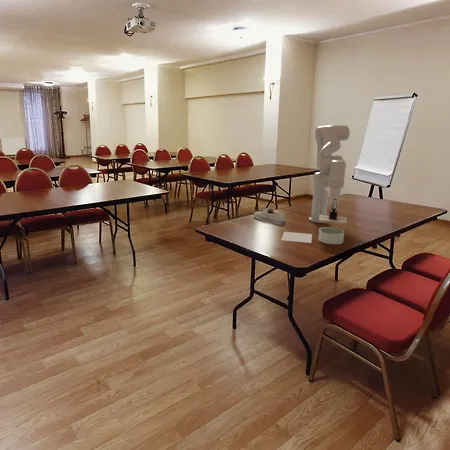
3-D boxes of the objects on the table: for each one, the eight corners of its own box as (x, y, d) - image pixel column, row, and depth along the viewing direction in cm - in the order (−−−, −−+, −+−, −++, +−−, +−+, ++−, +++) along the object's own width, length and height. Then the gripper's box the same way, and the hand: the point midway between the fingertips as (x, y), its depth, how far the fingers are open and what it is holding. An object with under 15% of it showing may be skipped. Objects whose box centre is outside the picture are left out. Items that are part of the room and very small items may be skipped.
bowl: (318, 236, 208) (319, 226, 207) (342, 238, 205) (343, 228, 204) (318, 243, 196) (318, 232, 195) (343, 246, 193) (344, 235, 192)
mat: (283, 232, 215) (284, 231, 214) (312, 235, 211) (312, 234, 211) (280, 241, 200) (281, 240, 199) (311, 243, 196) (311, 242, 196)
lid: (319, 216, 206) (320, 206, 204) (345, 218, 202) (346, 208, 201) (319, 222, 193) (319, 212, 191) (347, 224, 189) (348, 214, 188)
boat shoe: (250, 217, 247) (251, 205, 245) (260, 215, 252) (261, 203, 250) (278, 226, 228) (279, 212, 226) (287, 223, 234) (288, 210, 231)
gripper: (328, 181, 201) (325, 214, 206) (328, 186, 185) (325, 221, 190) (342, 182, 199) (339, 215, 204) (344, 187, 183) (340, 222, 188)
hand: (332, 217), depth 197 cm, fingers closed on lid, 4 cm apart
